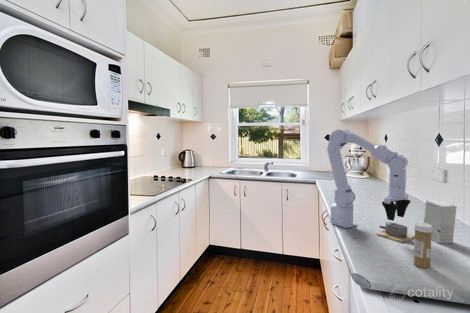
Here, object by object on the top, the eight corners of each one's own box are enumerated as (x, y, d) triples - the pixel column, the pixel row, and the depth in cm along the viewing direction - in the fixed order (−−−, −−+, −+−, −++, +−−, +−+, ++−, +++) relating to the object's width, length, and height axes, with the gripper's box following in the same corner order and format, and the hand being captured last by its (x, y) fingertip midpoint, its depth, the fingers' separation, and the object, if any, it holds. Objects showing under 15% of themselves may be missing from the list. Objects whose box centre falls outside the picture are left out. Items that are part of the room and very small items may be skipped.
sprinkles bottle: (433, 269, 80) (435, 227, 78) (417, 268, 80) (419, 226, 79) (425, 262, 84) (427, 222, 83) (410, 261, 85) (411, 221, 84)
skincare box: (422, 235, 106) (423, 200, 105) (435, 235, 106) (437, 199, 105) (440, 244, 97) (442, 205, 96) (455, 243, 98) (457, 205, 97)
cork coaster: (376, 234, 108) (376, 233, 108) (389, 229, 113) (389, 228, 113) (402, 243, 99) (402, 241, 99) (414, 237, 104) (414, 235, 104)
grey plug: (377, 230, 110) (377, 221, 110) (382, 229, 112) (382, 220, 112) (403, 239, 101) (404, 229, 101) (408, 236, 103) (409, 227, 103)
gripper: (398, 189, 97) (396, 224, 98) (416, 184, 105) (415, 217, 106) (379, 186, 103) (378, 219, 104) (398, 182, 111) (397, 213, 112)
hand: (395, 218), depth 105 cm, fingers open, 7 cm apart
